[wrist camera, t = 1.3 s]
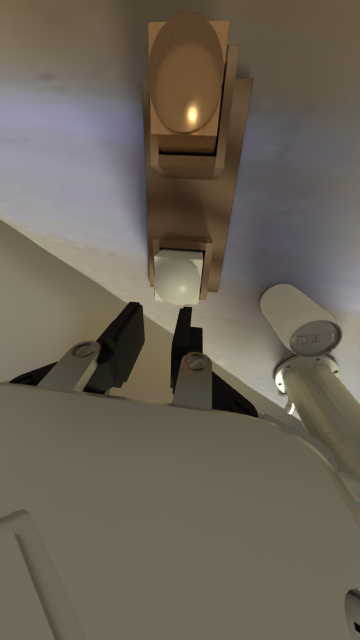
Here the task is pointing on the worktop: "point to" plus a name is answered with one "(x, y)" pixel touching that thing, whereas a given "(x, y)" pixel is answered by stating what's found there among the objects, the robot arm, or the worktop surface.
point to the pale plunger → (178, 275)
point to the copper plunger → (186, 82)
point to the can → (300, 321)
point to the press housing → (197, 182)
